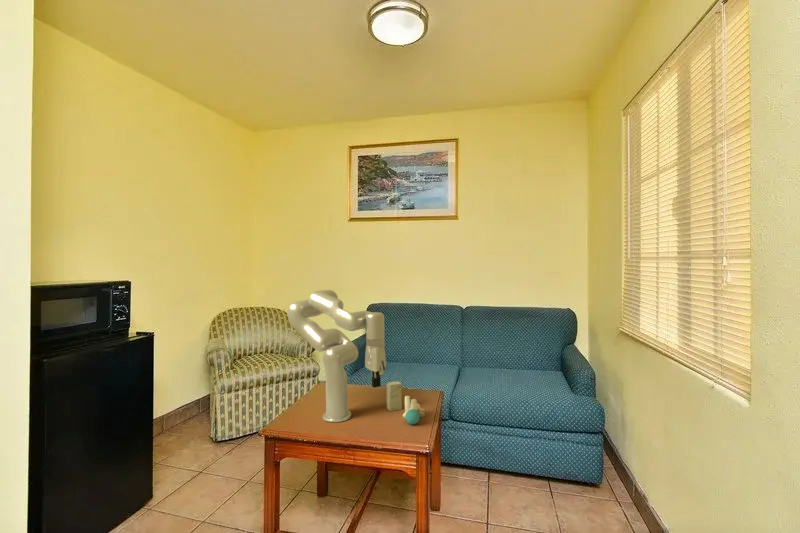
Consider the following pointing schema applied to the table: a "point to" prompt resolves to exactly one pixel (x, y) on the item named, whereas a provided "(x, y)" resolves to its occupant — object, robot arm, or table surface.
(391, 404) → the skincare box
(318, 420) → the table surface
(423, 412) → the back rail
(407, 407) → the pin
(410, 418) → the ball
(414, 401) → the pin
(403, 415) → the pin front
